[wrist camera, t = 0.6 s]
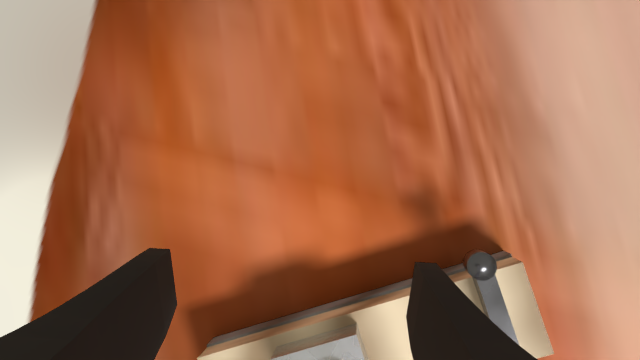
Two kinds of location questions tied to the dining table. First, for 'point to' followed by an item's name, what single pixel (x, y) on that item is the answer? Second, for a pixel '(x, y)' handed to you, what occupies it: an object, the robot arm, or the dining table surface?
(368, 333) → the plane body
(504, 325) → the lever
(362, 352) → the lever cap
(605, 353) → the dining table surface
